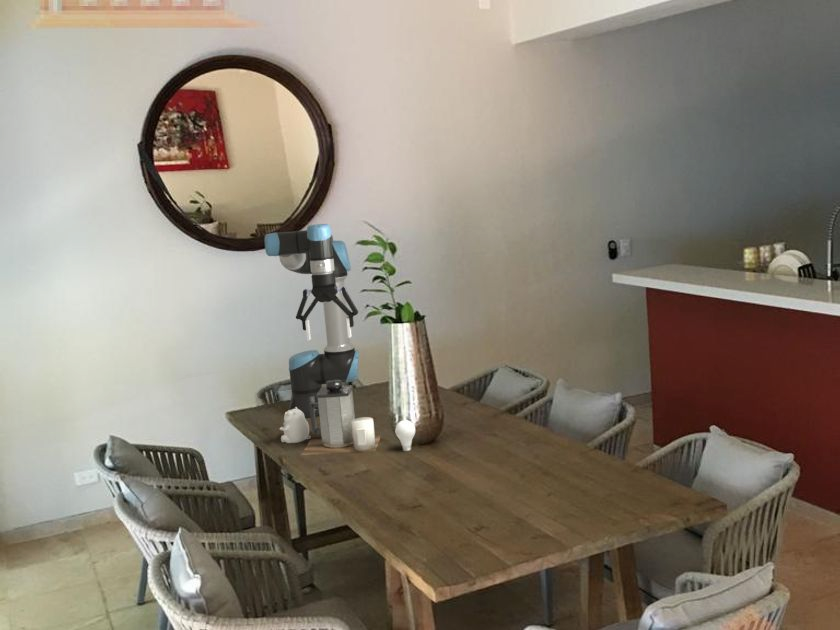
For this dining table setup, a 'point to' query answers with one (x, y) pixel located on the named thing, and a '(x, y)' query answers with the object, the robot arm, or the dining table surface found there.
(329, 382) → the plunger
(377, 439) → the board
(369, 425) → the mug
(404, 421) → the lightbulb
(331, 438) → the carafe
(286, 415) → the figurine
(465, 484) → the dining table surface
